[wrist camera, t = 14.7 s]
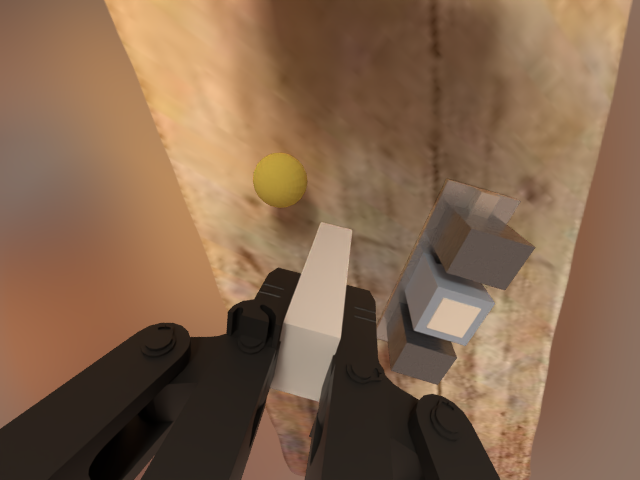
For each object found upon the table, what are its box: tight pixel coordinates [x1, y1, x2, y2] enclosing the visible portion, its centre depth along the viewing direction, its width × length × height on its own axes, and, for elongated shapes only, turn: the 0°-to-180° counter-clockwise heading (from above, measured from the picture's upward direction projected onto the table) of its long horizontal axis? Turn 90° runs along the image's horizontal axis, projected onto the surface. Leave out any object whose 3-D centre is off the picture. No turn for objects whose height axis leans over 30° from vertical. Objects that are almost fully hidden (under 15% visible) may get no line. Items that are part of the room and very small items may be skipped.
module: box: [405, 253, 495, 346], centre depth 39 cm, size 8×7×9 cm
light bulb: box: [253, 153, 307, 208], centre depth 36 cm, size 7×7×10 cm
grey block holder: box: [376, 179, 535, 385], centre depth 40 cm, size 30×10×10 cm, turn 165°
